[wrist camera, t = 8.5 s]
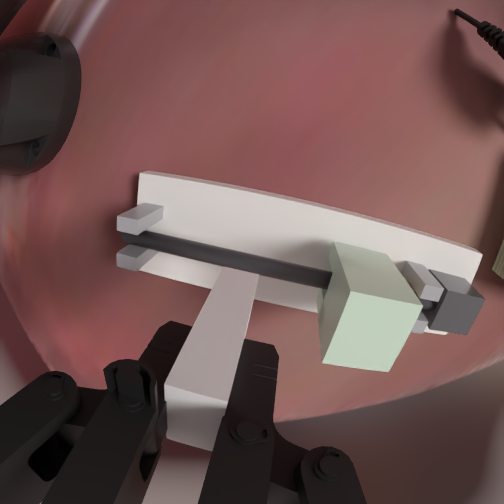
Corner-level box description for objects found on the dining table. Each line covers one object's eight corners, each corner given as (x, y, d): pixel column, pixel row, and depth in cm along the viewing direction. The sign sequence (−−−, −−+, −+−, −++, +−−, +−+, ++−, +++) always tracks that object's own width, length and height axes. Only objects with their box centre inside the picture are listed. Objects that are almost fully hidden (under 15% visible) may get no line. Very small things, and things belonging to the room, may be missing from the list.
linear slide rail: (142, 262, 25) (109, 290, 20) (148, 170, 22) (110, 180, 17) (440, 325, 23) (462, 362, 18) (474, 248, 20) (508, 274, 15)
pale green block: (316, 297, 21) (321, 362, 14) (333, 241, 19) (350, 290, 13) (366, 307, 21) (388, 371, 14) (386, 254, 19) (423, 305, 12)
